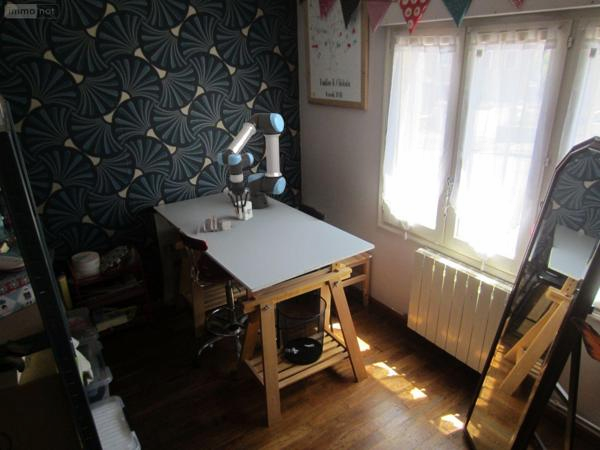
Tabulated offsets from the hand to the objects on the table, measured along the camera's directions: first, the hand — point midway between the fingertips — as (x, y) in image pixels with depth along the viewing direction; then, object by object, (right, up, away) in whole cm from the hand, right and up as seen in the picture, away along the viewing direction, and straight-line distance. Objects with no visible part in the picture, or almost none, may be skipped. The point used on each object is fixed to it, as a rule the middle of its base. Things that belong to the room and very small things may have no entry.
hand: (241, 217), depth 256 cm
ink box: (-1, -1, +18) cm, 18 cm away
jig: (-9, -8, +1) cm, 12 cm away
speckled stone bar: (-14, -7, 0) cm, 16 cm away
